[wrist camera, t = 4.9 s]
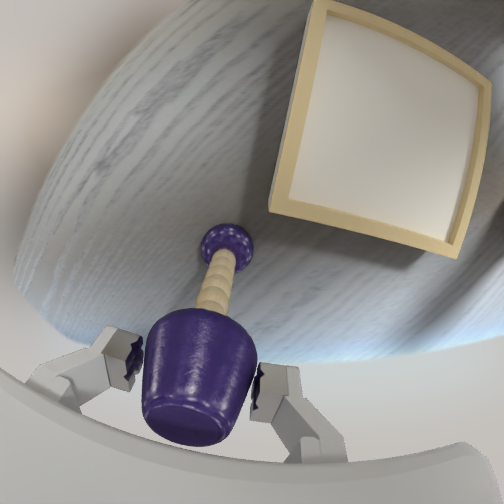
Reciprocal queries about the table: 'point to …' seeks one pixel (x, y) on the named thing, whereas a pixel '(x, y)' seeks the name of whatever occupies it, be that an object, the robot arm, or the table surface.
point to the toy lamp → (201, 353)
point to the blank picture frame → (381, 132)
